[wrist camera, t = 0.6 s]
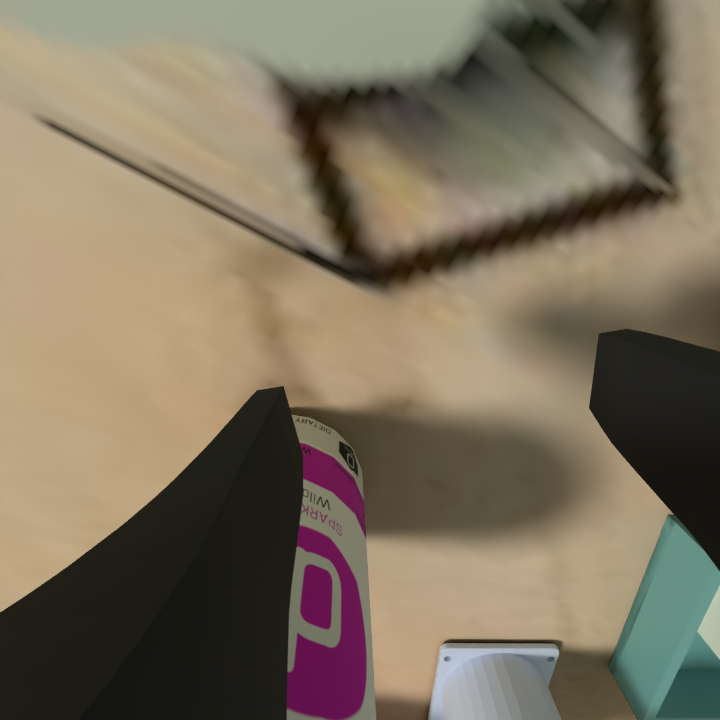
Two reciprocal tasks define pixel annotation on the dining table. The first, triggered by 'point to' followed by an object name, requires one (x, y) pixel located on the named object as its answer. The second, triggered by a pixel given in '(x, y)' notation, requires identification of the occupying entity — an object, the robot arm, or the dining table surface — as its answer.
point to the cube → (712, 625)
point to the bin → (671, 634)
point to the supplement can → (330, 586)
